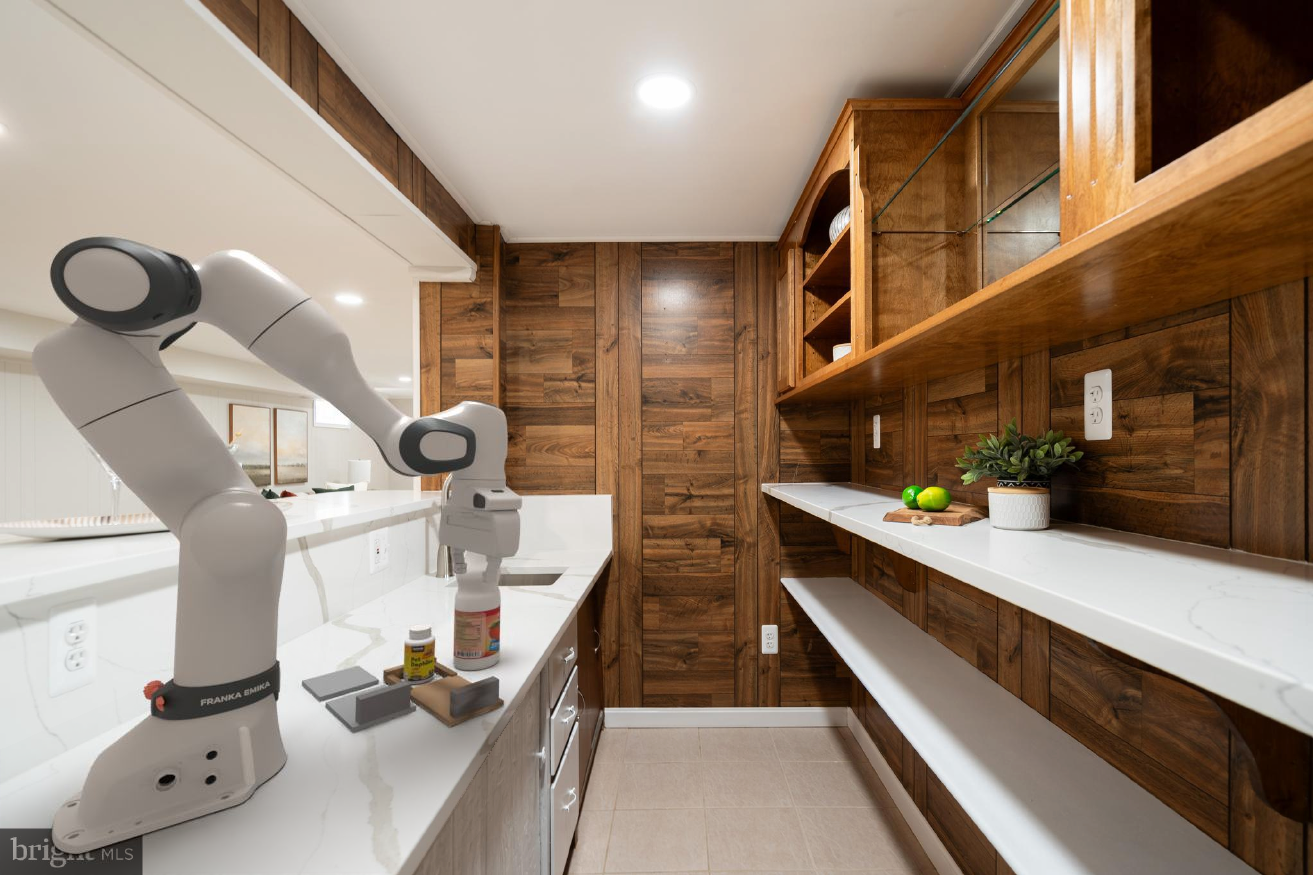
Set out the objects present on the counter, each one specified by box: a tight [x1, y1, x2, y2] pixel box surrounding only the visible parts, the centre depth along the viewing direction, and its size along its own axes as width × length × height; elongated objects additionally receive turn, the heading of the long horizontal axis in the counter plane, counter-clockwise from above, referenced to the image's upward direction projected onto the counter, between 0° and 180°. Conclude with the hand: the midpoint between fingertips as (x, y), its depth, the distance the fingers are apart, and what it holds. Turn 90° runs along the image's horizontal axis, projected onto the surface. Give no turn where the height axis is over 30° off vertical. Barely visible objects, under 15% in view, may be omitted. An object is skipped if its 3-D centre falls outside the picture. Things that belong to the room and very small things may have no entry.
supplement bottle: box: [402, 623, 436, 685], centre depth 104 cm, size 6×6×10 cm
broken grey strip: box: [301, 665, 417, 734], centre depth 96 cm, size 10×26×5 cm, turn 49°
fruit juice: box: [453, 551, 502, 671], centre depth 113 cm, size 9×9×28 cm
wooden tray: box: [382, 656, 505, 727], centre depth 98 cm, size 10×26×5 cm, turn 49°
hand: (473, 577), depth 89 cm, fingers open, 8 cm apart
